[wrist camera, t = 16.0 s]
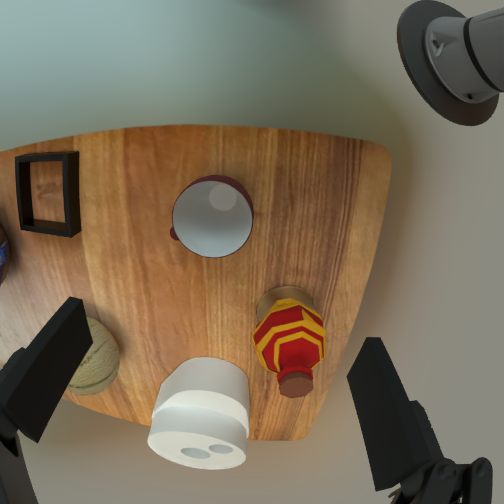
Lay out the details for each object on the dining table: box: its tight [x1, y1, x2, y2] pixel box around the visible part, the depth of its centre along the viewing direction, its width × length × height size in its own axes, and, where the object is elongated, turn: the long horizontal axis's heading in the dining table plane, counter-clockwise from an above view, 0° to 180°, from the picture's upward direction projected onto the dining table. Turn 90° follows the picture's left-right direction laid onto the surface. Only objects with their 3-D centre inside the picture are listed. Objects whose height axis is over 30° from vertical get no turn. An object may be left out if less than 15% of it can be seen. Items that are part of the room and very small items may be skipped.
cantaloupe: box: [66, 316, 120, 395], centre depth 40 cm, size 15×15×15 cm
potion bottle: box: [252, 298, 326, 398], centre depth 36 cm, size 10×10×15 cm
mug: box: [170, 175, 254, 258], centre depth 32 cm, size 11×8×10 cm
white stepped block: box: [148, 357, 250, 469], centre depth 47 cm, size 20×25×14 cm
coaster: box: [257, 286, 314, 322], centre depth 43 cm, size 9×9×1 cm
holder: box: [15, 151, 81, 238], centre depth 34 cm, size 13×13×3 cm
